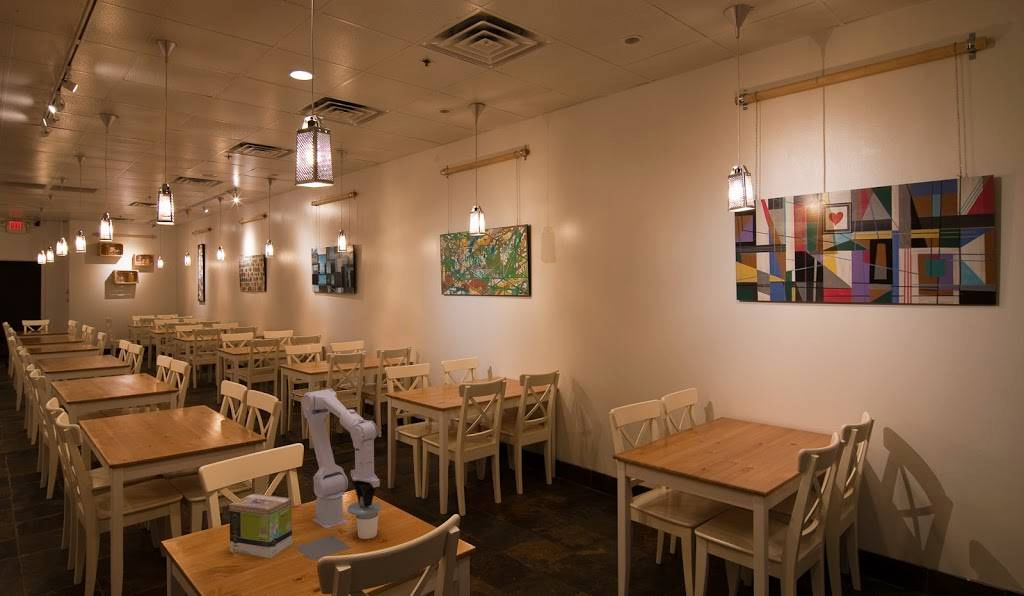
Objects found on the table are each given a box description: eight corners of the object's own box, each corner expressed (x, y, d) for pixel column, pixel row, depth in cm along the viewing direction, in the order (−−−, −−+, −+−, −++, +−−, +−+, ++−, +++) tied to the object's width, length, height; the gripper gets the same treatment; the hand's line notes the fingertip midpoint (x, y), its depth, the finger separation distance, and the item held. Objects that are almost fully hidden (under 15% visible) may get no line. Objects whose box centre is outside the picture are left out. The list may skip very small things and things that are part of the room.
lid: (341, 508, 180) (342, 495, 180) (370, 501, 187) (370, 489, 187) (357, 517, 173) (358, 504, 173) (386, 510, 179) (387, 497, 180)
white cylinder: (373, 542, 176) (372, 519, 176) (352, 540, 178) (352, 518, 178) (382, 532, 183) (382, 511, 183) (362, 531, 185) (362, 509, 184)
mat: (294, 549, 172) (294, 547, 172) (331, 536, 181) (331, 534, 181) (312, 562, 164) (312, 560, 164) (350, 549, 172) (350, 547, 172)
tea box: (293, 545, 175) (292, 497, 174) (269, 560, 165) (268, 509, 165) (254, 538, 180) (253, 491, 179) (228, 553, 170) (227, 503, 170)
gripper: (341, 458, 182) (342, 501, 182) (364, 469, 172) (365, 514, 172) (361, 454, 187) (362, 495, 187) (385, 464, 176) (386, 507, 177)
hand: (365, 504), depth 180 cm, fingers closed on lid, 3 cm apart
